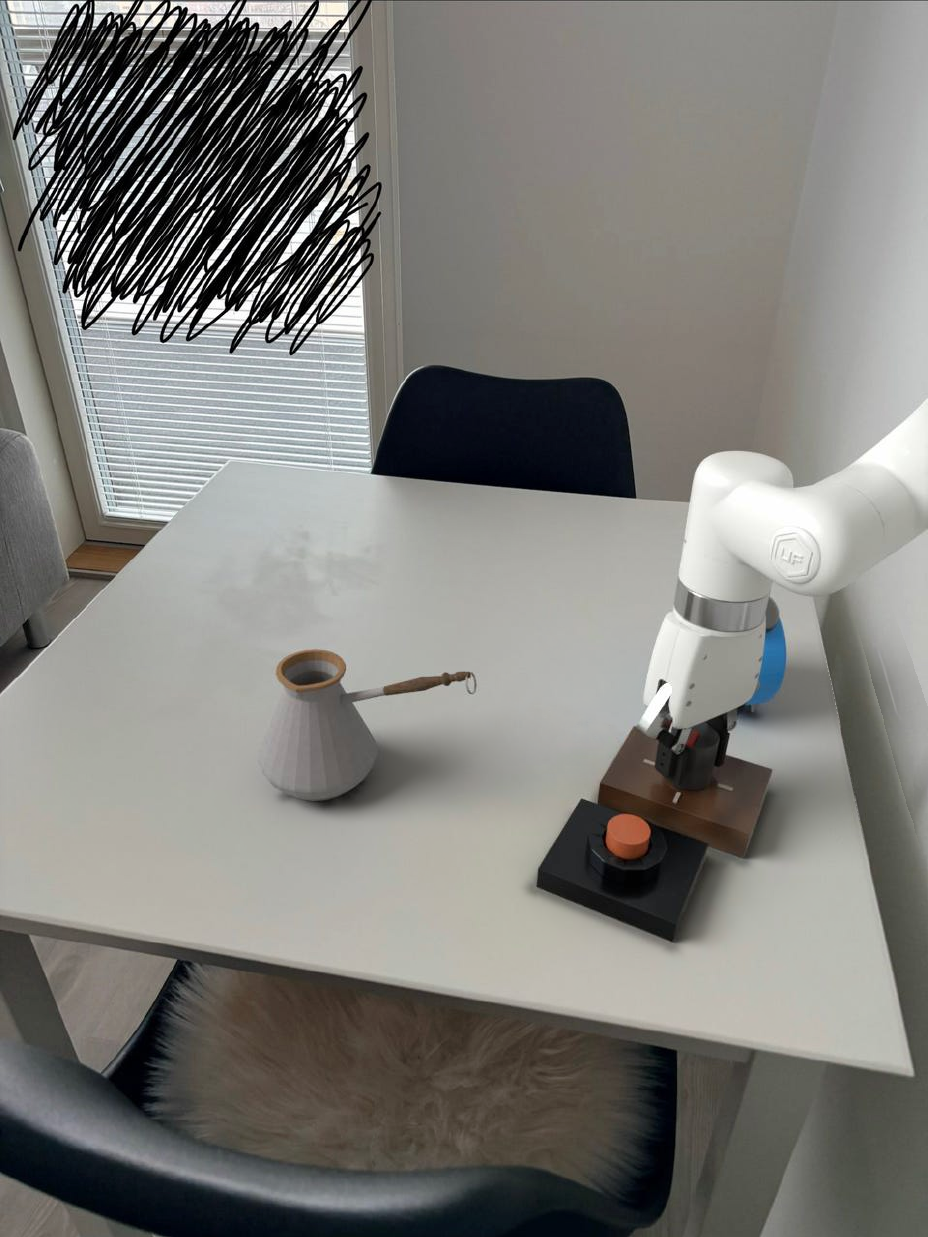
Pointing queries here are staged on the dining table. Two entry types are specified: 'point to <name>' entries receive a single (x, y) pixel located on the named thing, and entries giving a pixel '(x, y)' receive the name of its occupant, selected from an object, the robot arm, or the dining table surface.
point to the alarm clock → (771, 658)
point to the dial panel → (687, 796)
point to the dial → (699, 756)
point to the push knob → (627, 836)
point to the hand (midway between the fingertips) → (688, 766)
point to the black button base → (623, 872)
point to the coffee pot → (325, 726)
